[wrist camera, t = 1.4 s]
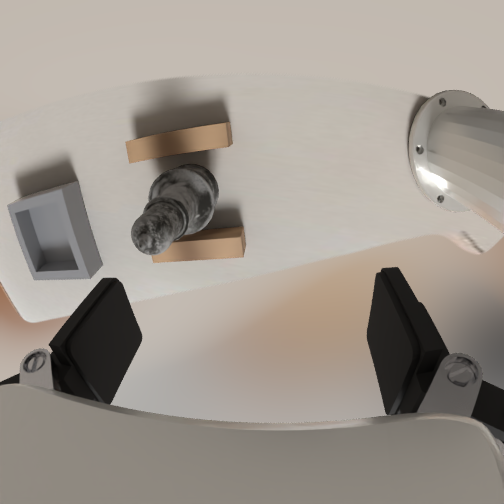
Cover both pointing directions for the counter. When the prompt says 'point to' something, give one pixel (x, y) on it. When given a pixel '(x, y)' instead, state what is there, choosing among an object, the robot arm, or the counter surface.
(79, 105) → the counter surface
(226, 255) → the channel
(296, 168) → the counter surface
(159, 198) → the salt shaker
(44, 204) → the square tray
